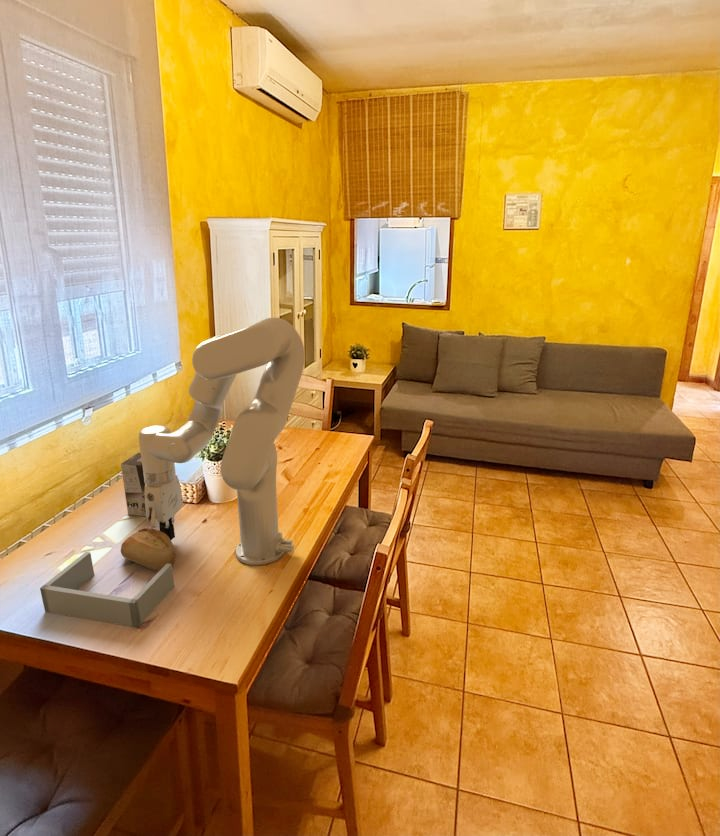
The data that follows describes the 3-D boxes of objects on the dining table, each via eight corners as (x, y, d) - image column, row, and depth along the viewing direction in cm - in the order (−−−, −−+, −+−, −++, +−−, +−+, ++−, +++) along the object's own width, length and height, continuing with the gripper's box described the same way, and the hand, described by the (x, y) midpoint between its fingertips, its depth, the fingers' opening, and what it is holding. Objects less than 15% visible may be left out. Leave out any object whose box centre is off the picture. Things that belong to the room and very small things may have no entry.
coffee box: (147, 517, 156) (140, 465, 150) (127, 514, 157) (119, 463, 152) (164, 502, 164) (158, 453, 159) (145, 500, 165) (138, 451, 160)
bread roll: (141, 545, 142) (137, 518, 139) (187, 558, 136) (183, 530, 134) (112, 564, 134) (107, 536, 131) (159, 579, 128) (155, 550, 125)
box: (174, 586, 125) (171, 564, 123) (137, 627, 112) (133, 603, 110) (89, 573, 130) (85, 551, 128) (45, 611, 117) (39, 588, 115)
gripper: (156, 489, 128) (164, 556, 134) (188, 464, 142) (195, 526, 148) (128, 485, 130) (137, 552, 136) (163, 461, 144) (170, 522, 150)
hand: (167, 538), depth 142 cm, fingers closed
